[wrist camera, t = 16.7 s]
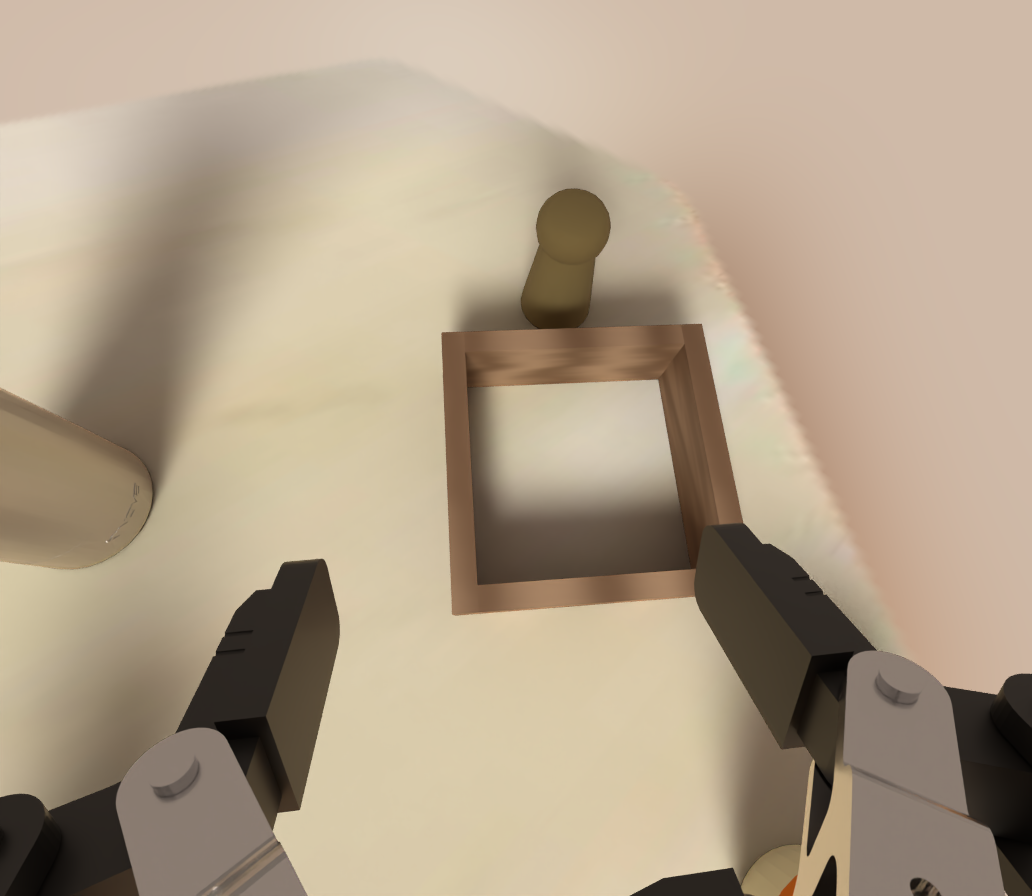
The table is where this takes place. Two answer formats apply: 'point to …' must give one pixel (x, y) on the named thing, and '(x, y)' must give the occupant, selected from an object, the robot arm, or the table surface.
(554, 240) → the olive pawn
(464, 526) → the walnut crate
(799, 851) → the reusable coffee cup
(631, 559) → the table surface
